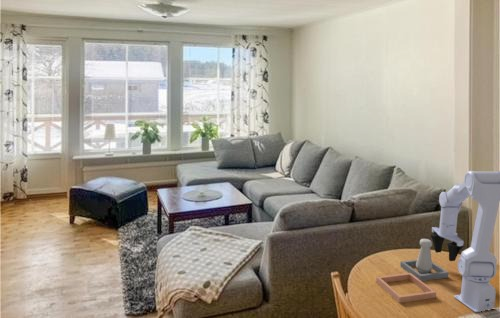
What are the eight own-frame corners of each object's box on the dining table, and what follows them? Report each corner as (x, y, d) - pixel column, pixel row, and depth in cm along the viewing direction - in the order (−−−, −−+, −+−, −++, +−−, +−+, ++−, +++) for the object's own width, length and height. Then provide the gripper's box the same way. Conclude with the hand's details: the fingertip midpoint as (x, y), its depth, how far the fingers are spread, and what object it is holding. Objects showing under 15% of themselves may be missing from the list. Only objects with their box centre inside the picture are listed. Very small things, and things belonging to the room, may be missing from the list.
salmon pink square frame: (435, 297, 128) (436, 292, 128) (398, 302, 125) (399, 297, 125) (409, 277, 141) (410, 272, 141) (376, 281, 138) (376, 276, 138)
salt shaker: (428, 268, 148) (431, 237, 146) (434, 275, 143) (437, 243, 140) (413, 267, 149) (415, 236, 147) (418, 274, 143) (420, 242, 141)
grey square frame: (448, 277, 142) (448, 272, 141) (419, 281, 139) (420, 276, 139) (426, 263, 153) (427, 258, 153) (400, 266, 150) (400, 261, 150)
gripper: (472, 228, 138) (468, 263, 141) (443, 215, 152) (440, 247, 155) (455, 230, 137) (451, 265, 139) (428, 217, 151) (425, 249, 153)
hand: (444, 256), depth 147 cm, fingers open, 7 cm apart
